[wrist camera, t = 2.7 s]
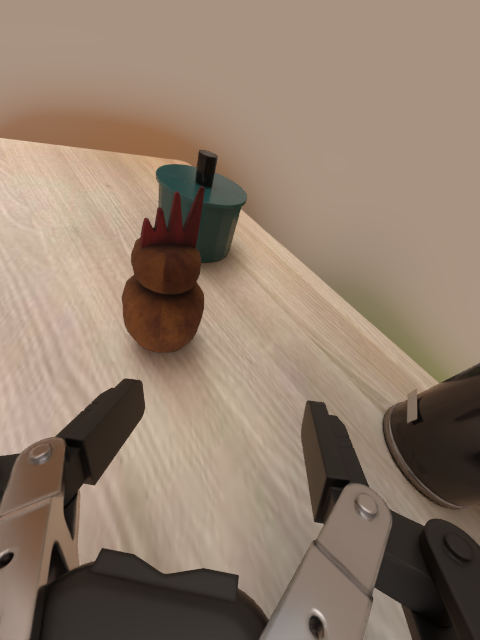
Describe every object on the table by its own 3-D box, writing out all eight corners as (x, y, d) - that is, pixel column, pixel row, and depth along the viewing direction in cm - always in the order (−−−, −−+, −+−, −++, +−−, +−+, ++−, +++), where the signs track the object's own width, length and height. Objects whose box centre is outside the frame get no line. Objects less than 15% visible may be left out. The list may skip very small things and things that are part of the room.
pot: (217, 226, 43) (227, 177, 37) (238, 263, 37) (254, 211, 31) (153, 221, 38) (153, 163, 32) (165, 262, 32) (168, 200, 26)
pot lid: (228, 180, 38) (235, 148, 35) (258, 218, 31) (270, 182, 28) (149, 166, 33) (149, 126, 30) (164, 207, 26) (166, 161, 23)
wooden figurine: (197, 320, 27) (226, 181, 16) (194, 363, 23) (231, 219, 12) (134, 312, 25) (122, 151, 14) (120, 358, 21) (89, 184, 11)
